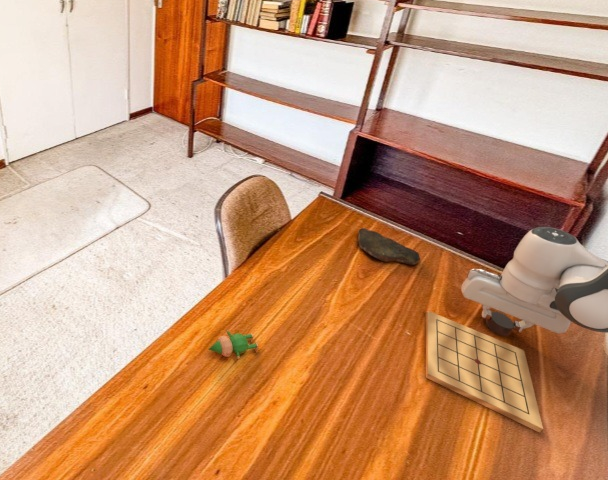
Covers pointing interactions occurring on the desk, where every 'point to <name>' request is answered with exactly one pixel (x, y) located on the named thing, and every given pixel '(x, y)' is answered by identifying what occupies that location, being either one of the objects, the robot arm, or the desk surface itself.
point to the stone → (386, 248)
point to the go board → (481, 369)
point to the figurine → (233, 344)
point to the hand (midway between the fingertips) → (500, 322)
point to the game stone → (500, 324)
